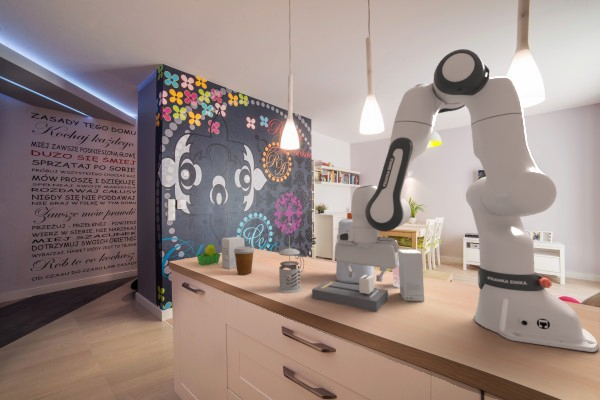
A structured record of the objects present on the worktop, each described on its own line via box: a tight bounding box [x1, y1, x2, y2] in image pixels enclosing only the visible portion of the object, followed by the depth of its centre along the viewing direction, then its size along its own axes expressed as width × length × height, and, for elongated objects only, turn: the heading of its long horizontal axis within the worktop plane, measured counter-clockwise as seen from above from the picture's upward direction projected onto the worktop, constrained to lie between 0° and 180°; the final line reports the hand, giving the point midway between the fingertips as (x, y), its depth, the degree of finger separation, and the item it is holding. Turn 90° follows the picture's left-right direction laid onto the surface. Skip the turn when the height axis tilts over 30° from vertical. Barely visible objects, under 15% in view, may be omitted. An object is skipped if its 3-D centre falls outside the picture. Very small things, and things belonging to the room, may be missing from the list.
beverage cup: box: [391, 248, 401, 289], centre depth 102 cm, size 6×6×14 cm
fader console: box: [311, 280, 389, 313], centre depth 89 cm, size 22×12×3 cm, turn 57°
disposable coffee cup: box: [234, 245, 255, 276], centre depth 124 cm, size 10×10×12 cm
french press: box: [276, 222, 305, 294], centre depth 101 cm, size 10×12×25 cm
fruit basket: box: [196, 243, 222, 266], centre depth 146 cm, size 11×9×11 cm
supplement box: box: [221, 236, 246, 270], centre depth 138 cm, size 9×9×15 cm
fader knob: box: [358, 275, 375, 294], centre depth 85 cm, size 3×5×5 cm, turn 147°
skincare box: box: [397, 249, 425, 302], centre depth 89 cm, size 8×7×16 cm
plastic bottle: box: [335, 212, 375, 285], centre depth 112 cm, size 15×15×28 cm
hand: (364, 278), depth 85 cm, fingers open, 8 cm apart
